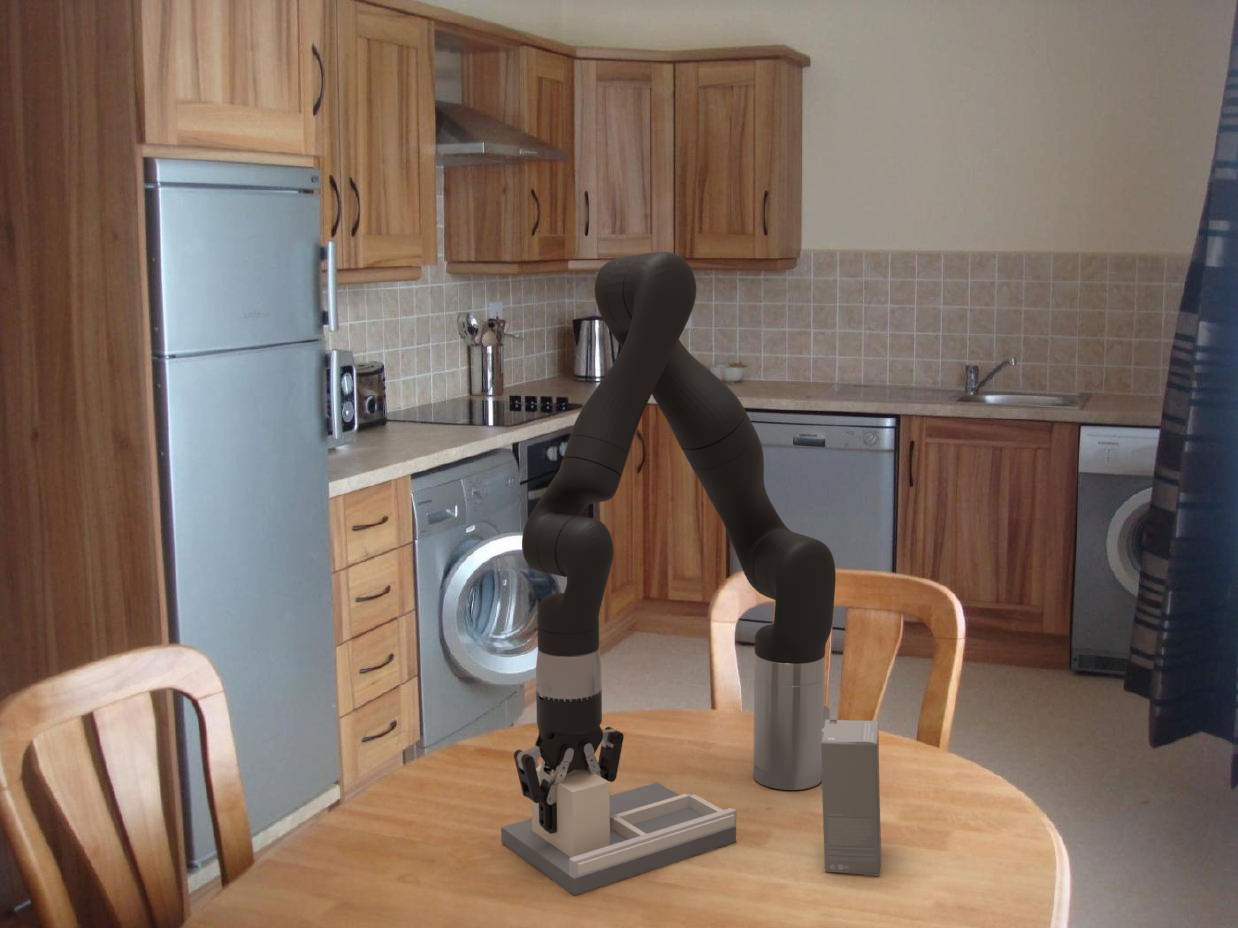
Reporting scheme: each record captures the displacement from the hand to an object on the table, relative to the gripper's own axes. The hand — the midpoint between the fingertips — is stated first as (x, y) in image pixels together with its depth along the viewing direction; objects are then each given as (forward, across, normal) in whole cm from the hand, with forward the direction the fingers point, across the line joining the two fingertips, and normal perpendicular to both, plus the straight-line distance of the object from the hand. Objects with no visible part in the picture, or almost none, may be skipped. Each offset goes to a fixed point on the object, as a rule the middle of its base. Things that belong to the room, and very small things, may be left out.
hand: (570, 823), depth 159 cm
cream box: (+2, 0, 0) cm, 2 cm away
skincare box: (+4, -26, +20) cm, 33 cm away
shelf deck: (+4, -6, 0) cm, 7 cm away
